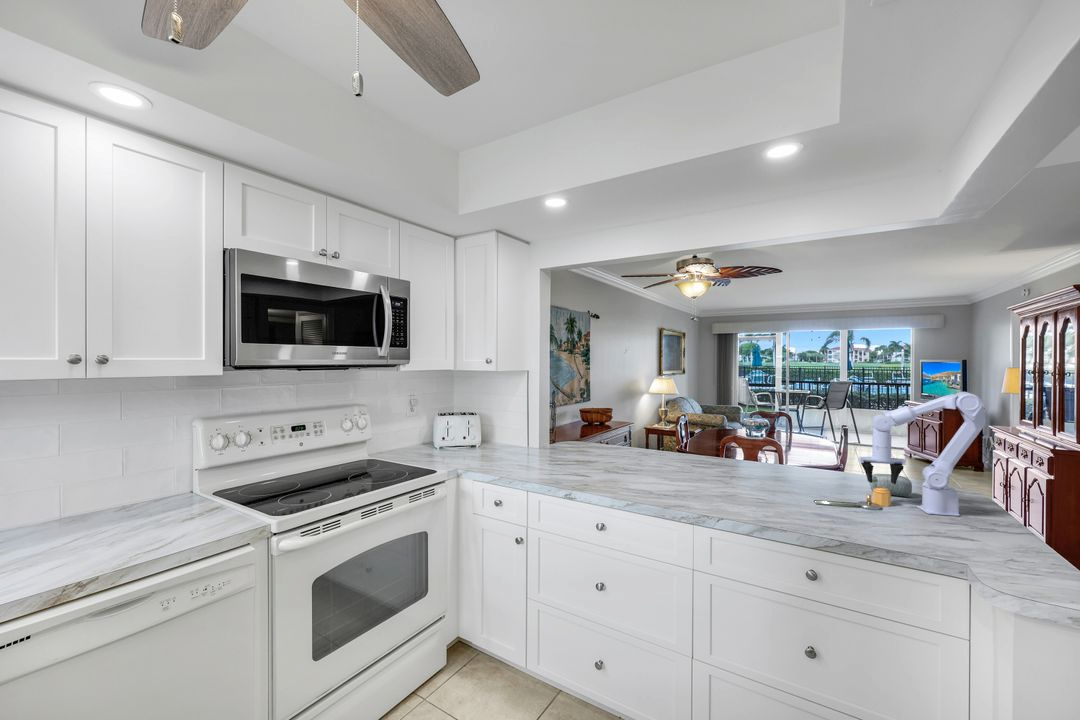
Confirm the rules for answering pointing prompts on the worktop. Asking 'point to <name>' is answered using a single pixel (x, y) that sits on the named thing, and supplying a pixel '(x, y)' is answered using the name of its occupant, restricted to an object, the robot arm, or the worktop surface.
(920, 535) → the worktop surface
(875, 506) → the rod
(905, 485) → the grey rounded block
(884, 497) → the wire nut
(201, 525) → the worktop surface
